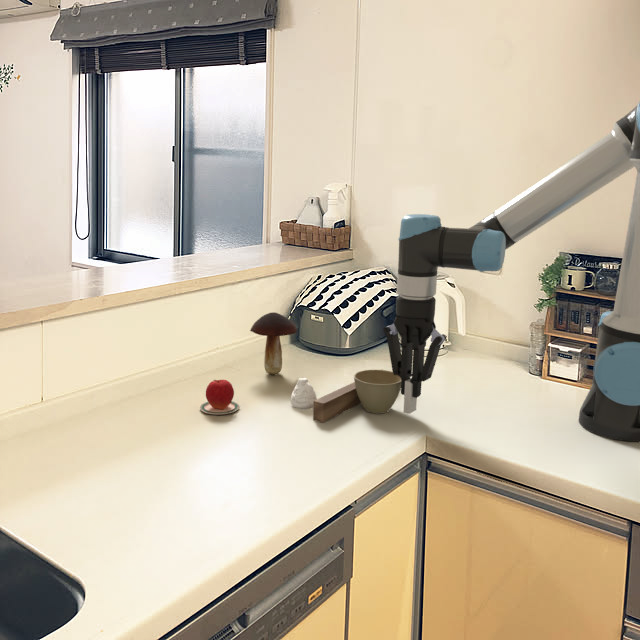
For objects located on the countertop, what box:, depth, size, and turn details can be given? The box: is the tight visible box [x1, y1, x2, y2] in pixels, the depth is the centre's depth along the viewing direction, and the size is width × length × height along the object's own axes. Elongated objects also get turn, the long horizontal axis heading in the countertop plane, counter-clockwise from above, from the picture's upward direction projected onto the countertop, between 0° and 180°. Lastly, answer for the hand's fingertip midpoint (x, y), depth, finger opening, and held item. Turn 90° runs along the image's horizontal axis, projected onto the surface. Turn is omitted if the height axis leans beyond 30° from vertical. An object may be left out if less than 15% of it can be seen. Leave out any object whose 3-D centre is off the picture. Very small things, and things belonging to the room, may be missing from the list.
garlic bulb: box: [290, 377, 318, 410], centre depth 147 cm, size 6×6×5 cm
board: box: [312, 369, 383, 424], centre depth 149 cm, size 2×26×4 cm, turn 145°
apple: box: [199, 379, 240, 415], centre depth 144 cm, size 8×8×6 cm
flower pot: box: [353, 369, 401, 415], centre depth 145 cm, size 10×10×7 cm
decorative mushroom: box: [249, 312, 298, 376], centre depth 165 cm, size 11×11×15 cm
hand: (409, 410), depth 141 cm, fingers closed
